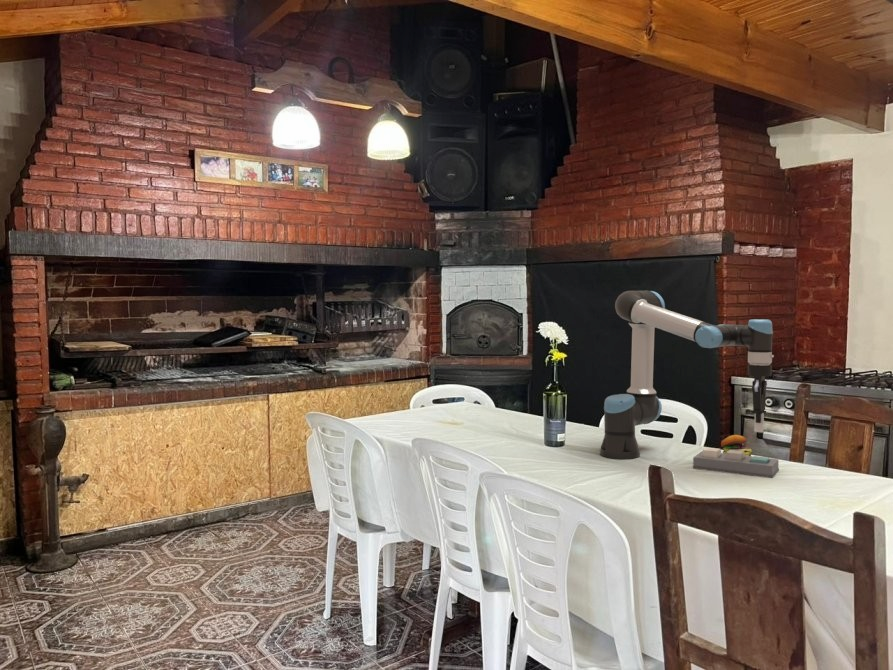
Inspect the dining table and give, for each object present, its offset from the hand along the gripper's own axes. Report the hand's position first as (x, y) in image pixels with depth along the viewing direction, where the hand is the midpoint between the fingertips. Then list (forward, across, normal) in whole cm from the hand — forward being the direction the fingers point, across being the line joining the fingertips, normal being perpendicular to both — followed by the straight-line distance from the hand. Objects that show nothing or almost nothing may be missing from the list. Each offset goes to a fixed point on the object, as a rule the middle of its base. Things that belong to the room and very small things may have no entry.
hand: (758, 431), depth 229 cm
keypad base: (+14, 0, +7) cm, 16 cm away
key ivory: (+12, 0, +15) cm, 19 cm away
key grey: (+12, 0, +7) cm, 14 cm away
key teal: (+13, 0, -1) cm, 13 cm away
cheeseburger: (+15, +18, +11) cm, 26 cm away
